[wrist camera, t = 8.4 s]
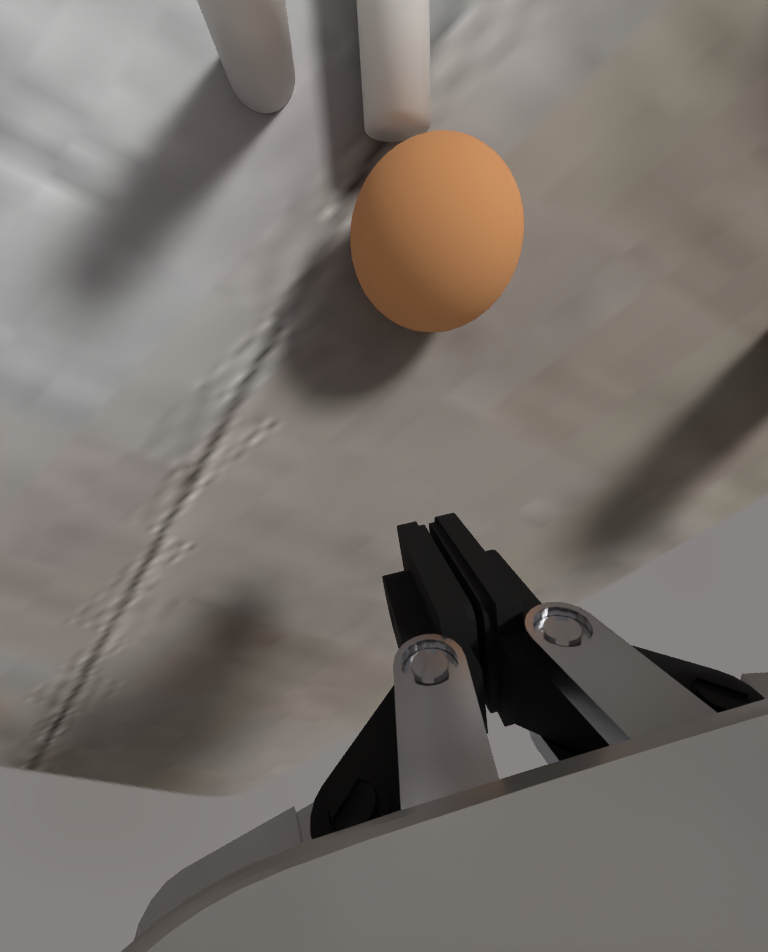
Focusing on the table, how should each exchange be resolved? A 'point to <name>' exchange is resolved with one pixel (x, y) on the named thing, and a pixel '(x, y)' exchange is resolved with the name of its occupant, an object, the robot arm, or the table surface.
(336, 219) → the table surface
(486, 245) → the ball
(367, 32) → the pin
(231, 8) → the side pin
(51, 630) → the table surface
